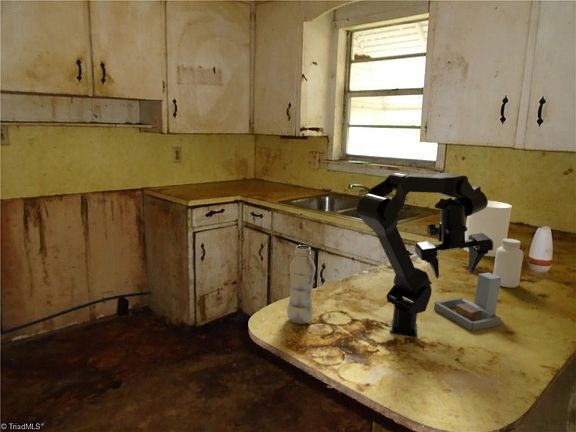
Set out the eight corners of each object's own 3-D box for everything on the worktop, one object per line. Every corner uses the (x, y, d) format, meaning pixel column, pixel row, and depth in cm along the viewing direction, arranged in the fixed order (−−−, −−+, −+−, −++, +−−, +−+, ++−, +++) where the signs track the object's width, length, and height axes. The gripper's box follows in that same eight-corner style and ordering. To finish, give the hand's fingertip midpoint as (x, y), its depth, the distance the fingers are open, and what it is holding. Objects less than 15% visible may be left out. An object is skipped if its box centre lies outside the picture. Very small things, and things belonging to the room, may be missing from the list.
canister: (492, 245, 187) (499, 200, 182) (512, 257, 171) (520, 208, 166) (456, 244, 186) (462, 199, 182) (473, 255, 170) (480, 207, 166)
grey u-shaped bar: (471, 331, 108) (472, 324, 108) (432, 308, 120) (433, 302, 120) (499, 324, 112) (500, 318, 112) (459, 303, 124) (460, 297, 124)
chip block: (469, 323, 113) (470, 312, 112) (454, 314, 117) (456, 304, 117) (480, 320, 115) (481, 310, 114) (465, 312, 119) (467, 302, 118)
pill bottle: (496, 277, 147) (503, 235, 144) (521, 284, 142) (529, 241, 138) (487, 283, 142) (494, 239, 138) (513, 290, 136) (521, 245, 133)
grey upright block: (486, 322, 113) (492, 283, 111) (460, 308, 121) (465, 271, 119) (502, 318, 116) (509, 280, 113) (476, 305, 124) (481, 269, 121)
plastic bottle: (297, 313, 114) (300, 241, 110) (317, 321, 110) (321, 247, 106) (281, 321, 109) (284, 247, 105) (302, 330, 105) (306, 253, 101)
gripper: (474, 206, 116) (474, 257, 122) (407, 216, 117) (409, 267, 122) (494, 219, 106) (493, 275, 111) (421, 231, 106) (423, 286, 111)
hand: (453, 275), depth 114 cm, fingers open, 9 cm apart
